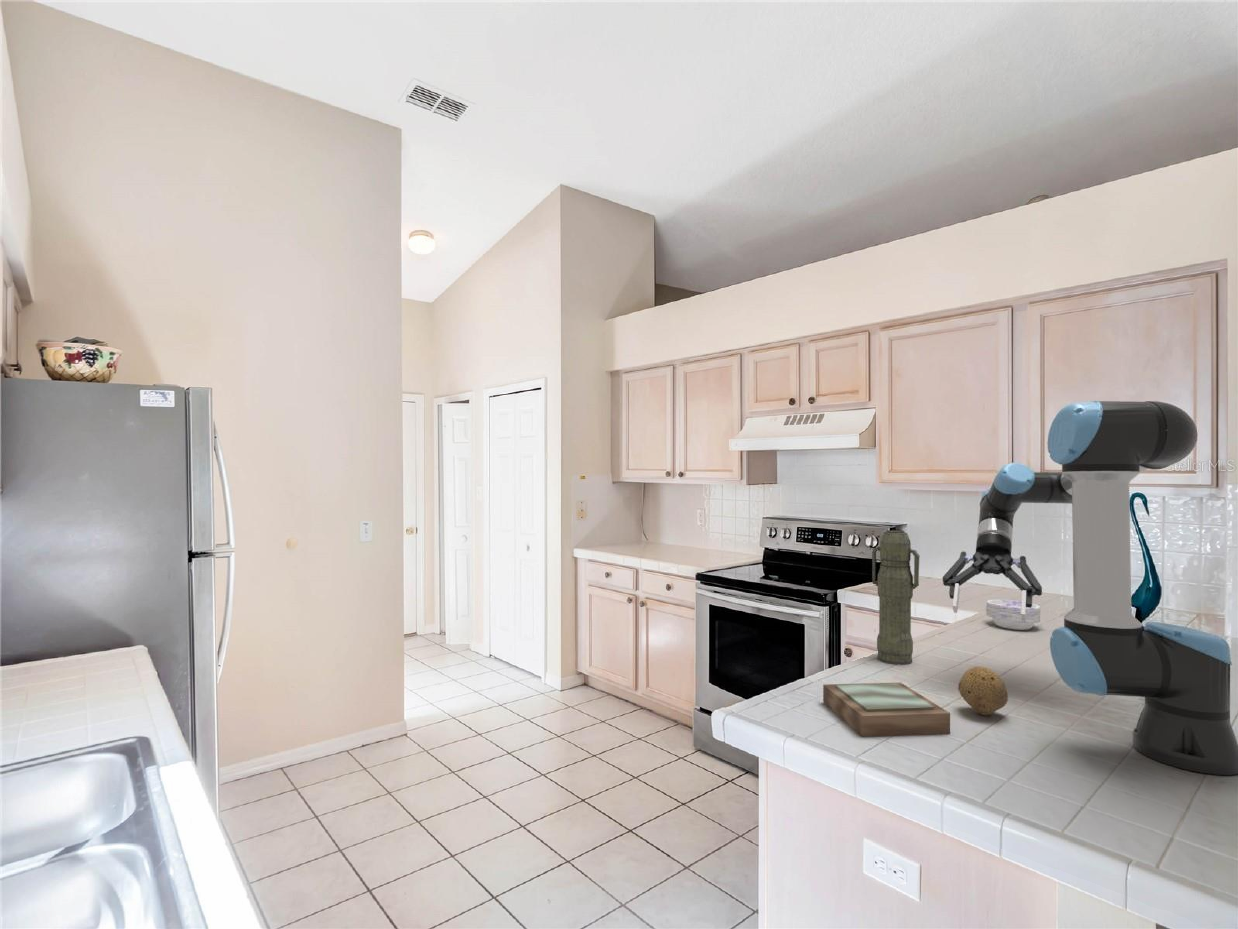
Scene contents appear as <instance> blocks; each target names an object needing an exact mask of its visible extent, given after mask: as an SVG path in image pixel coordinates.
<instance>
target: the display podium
mask: <svg viewBox="0 0 1238 929" xmlns="http://www.w3.org/2000/svg"><path fill="white" fill-rule="evenodd" d="M822 689H823V690H822V691H823V692H822V693H823V696H822V697H823V698H822V703H823V705H825V706H826V707H827V708H829V709H830V710H831V711H833V713H834V714H836V715H837V716H838V717H839V718H840V719H841V720H842V721H844V722H845V723H846V724H847V725H848V726H849V727H850V728H851V729H853V730H854V731H855V732H856V733H857V734H858V735H860V736H861V737H862V738H867V737H894V736H918V735H921V736H922V735H947V734H948V735H949V734H951V712H950V711H947V710H946V709H944V708H942V707H941V706H940V705H938V704H937V703H934V702H933V701H932V700H930V699H928V698H927V697H925V696H923V695H922V694H920V693H918V692H917V691H916V690H914V689H912V688H910V687H908V686H907V685H905V684H904V683H902V682H899V681H898V682H870V683H869V682H868V683H867V682H866V683H835V684H834V683H831V684H826V683H825V684H823V686H822Z"/></svg>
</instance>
